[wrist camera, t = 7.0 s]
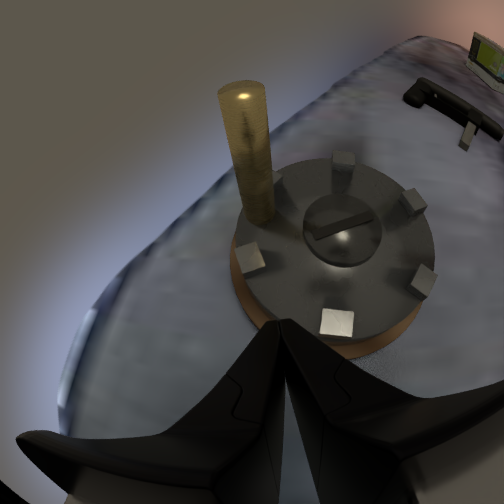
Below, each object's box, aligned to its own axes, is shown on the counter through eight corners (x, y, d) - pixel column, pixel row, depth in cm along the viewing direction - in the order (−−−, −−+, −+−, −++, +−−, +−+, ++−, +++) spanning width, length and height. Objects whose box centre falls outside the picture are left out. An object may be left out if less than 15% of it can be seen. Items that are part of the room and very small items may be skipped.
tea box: (509, 97, 41) (522, 61, 28) (491, 89, 42) (503, 50, 29) (483, 72, 48) (492, 39, 35) (464, 65, 49) (473, 30, 36)
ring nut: (280, 378, 18) (273, 362, 6) (220, 208, 26) (178, 79, 14) (448, 295, 19) (548, 201, 7) (364, 165, 27) (387, 50, 15)
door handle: (500, 165, 25) (505, 124, 29) (394, 96, 33) (421, 72, 37) (491, 178, 28) (499, 136, 32) (391, 112, 36) (418, 84, 40)
